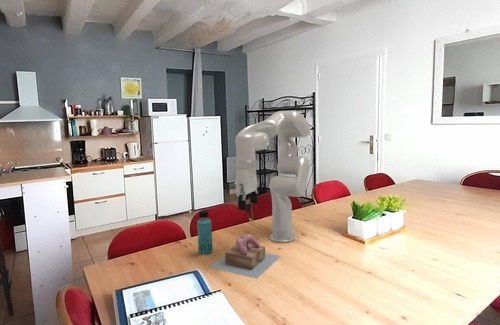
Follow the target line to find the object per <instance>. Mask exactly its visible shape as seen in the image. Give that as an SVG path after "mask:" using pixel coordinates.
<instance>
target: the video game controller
mask: <svg viewBox="0 0 500 325" xmlns="http://www.w3.org/2000/svg"><path fill="white" fill-rule="evenodd" d="M245 243H246V245H245ZM252 245H254V246H255V247H257V248H259V247H260V246H261V245H260V242H259V241H258V240H257V239H256V238H255V237H254V235H252V234H245V235H242V236H240V237H239V238H238V239H237V240H236V241H235V246H237V247H238V248H239V250H240V251H241V252H242V253H243V254H245V255H246V254H247V248H248V249H249V248H251V247H252Z"/></svg>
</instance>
